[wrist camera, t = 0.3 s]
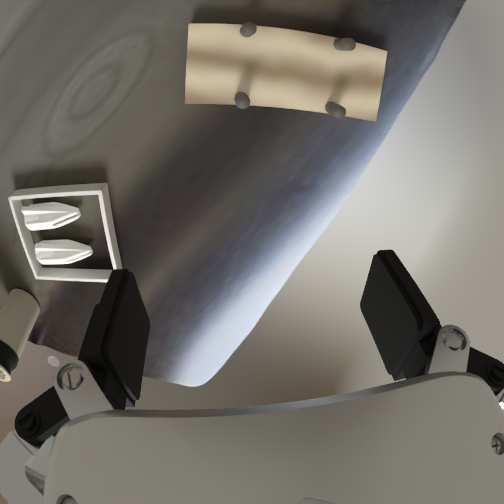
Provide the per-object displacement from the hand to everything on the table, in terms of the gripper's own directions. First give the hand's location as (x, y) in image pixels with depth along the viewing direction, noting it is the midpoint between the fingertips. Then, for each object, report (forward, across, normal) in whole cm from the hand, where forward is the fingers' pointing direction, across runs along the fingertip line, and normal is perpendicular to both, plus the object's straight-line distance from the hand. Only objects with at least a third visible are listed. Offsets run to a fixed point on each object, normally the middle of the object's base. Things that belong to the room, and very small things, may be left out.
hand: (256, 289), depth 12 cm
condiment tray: (+30, +27, +14) cm, 43 cm away
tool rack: (+30, -7, -7) cm, 32 cm away
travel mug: (+30, +46, +29) cm, 62 cm away
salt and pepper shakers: (+31, +28, +14) cm, 44 cm away
